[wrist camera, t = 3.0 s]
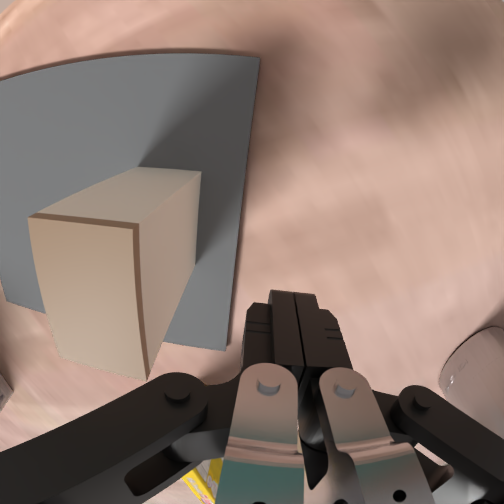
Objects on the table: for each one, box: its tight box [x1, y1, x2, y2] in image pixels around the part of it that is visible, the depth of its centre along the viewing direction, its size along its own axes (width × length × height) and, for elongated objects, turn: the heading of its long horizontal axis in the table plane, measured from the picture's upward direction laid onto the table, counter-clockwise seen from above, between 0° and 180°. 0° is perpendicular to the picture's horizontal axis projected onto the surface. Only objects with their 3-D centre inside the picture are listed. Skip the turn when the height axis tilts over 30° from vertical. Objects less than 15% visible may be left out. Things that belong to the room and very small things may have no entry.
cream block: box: [28, 167, 201, 382], centre depth 13 cm, size 4×6×10 cm, turn 173°
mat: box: [0, 53, 260, 351], centre depth 18 cm, size 22×20×1 cm
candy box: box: [182, 385, 224, 504], centre depth 24 cm, size 16×2×8 cm, turn 6°
